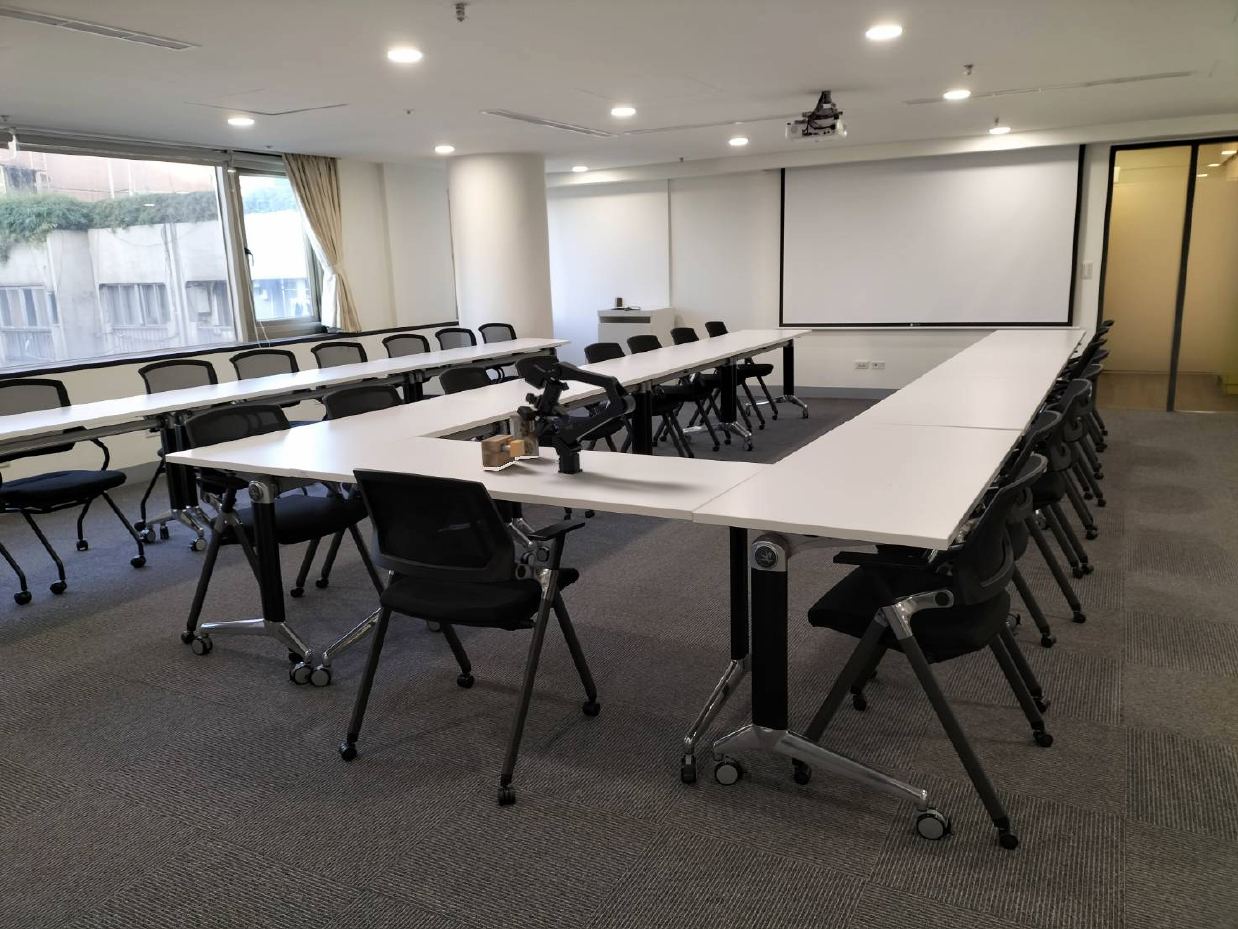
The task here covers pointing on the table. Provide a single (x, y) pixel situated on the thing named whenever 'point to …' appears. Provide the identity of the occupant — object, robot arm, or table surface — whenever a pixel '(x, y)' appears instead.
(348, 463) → the table surface
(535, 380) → the robot arm
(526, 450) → the coffee box
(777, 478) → the table surface
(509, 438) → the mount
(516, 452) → the knob
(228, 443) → the table surface
